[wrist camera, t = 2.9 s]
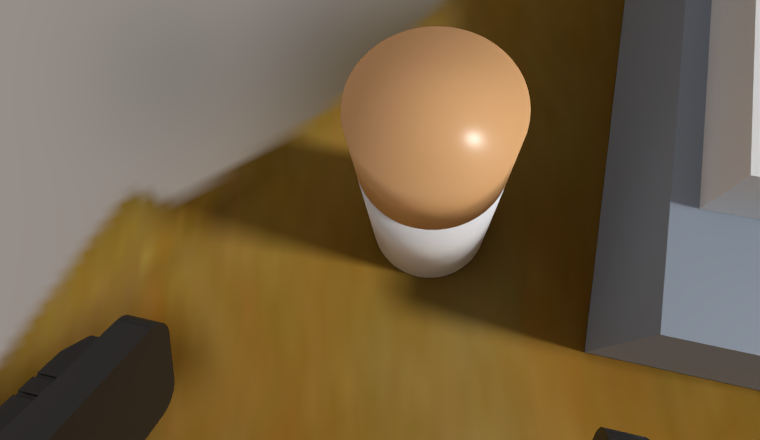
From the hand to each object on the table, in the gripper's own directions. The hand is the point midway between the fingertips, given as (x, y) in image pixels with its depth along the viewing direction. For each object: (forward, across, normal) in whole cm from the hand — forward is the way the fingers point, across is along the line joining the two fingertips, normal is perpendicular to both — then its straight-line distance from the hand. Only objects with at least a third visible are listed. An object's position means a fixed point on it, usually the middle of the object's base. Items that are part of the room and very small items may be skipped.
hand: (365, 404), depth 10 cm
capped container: (+13, 0, +3) cm, 14 cm away
